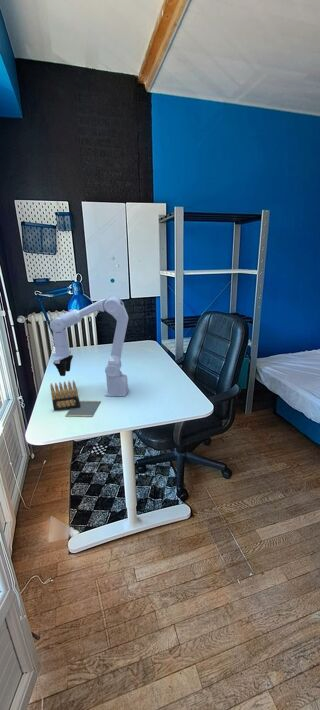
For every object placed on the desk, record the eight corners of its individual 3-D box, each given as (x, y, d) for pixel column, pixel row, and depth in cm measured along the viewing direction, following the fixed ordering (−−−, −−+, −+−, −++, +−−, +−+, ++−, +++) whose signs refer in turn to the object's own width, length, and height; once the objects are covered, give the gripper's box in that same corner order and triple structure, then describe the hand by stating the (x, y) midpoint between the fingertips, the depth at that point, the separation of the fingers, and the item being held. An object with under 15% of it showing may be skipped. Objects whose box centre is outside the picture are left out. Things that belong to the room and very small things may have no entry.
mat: (100, 401, 129) (100, 400, 129) (92, 417, 117) (92, 415, 117) (76, 401, 130) (76, 400, 130) (65, 416, 118) (65, 415, 118)
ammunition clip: (53, 411, 123) (48, 384, 119) (54, 409, 124) (49, 382, 121) (80, 407, 124) (75, 380, 120) (80, 405, 126) (75, 379, 122)
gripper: (59, 340, 138) (62, 367, 142) (45, 349, 124) (49, 379, 128) (73, 340, 137) (77, 367, 141) (61, 349, 123) (65, 379, 127)
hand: (65, 373), depth 135 cm, fingers open, 5 cm apart
